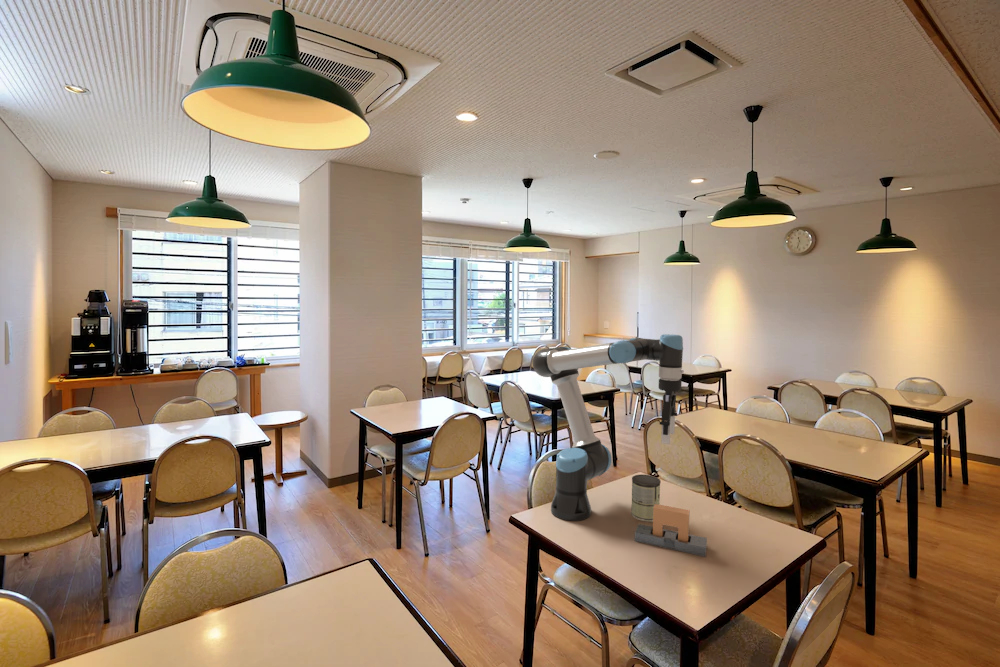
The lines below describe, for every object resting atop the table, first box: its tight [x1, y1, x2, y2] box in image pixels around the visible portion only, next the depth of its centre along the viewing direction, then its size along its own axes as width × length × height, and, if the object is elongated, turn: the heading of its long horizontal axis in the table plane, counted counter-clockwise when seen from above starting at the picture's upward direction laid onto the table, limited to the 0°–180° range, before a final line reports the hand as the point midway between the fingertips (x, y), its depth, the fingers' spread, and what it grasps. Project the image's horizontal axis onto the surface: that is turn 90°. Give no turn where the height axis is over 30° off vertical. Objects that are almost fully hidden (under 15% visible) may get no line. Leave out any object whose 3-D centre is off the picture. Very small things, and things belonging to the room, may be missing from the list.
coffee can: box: [630, 474, 661, 523], centre depth 180 cm, size 10×10×14 cm
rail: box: [634, 523, 708, 558], centre depth 159 cm, size 22×7×3 cm, turn 64°
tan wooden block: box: [652, 504, 690, 542], centre depth 159 cm, size 11×4×12 cm, turn 64°
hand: (668, 438), depth 168 cm, fingers open, 13 cm apart
